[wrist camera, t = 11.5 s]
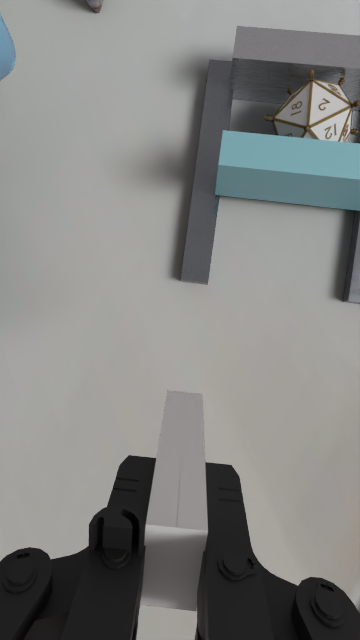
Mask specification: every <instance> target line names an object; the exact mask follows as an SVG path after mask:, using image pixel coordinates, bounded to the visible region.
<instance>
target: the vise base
mask: <svg viewBox="0 0 360 640" xmlns="http://www.w3.org/2000/svg"><path fill="white" fill-rule="evenodd" d="M311 69H312V70H313V71H314V72H315V74H314V75H315V77H314V80H319V81H324V82H329V83H334V84H338V81H339V80H340V78H342V77H344V76H345V82H343V84H342V85H341V88H342V89H343V91H344V92H345V94H346V95H347V97H348V98H349V100H350V101H351V103H354V101H357V99H358V100H360V36H356V35H343V34H331V33H318V32H306V31H293V30H281V29H268V28H255V27H243V26H237V30H236V38H235V45H234V53H233V61H232V62H230V61H218V60H210V61H209V68H208V76H207V83H206V91H205V98H204V106H203V114H202V121H201V129H200V136H199V144H198V151H197V159H196V167H195V174H194V182H193V189H192V197H191V205H190V212H189V220H188V227H187V235H186V242H185V250H184V258H183V265H182V273H181V281H183V282H191V283H199V284H207V285H208V279H209V271H210V263H211V256H212V248H213V241H214V233H215V226H216V218H217V211H218V203H219V196H220V195H215V190H216V181H217V172H218V164H219V156H220V149H221V141H222V134H223V130H226V131H228V128H229V121H230V113H231V106H232V99H239V100H250V101H260V102H271V103H282V104H284V103H285V101H286V100H287V99H288V98H289V96H290V94H288V93H287V91H288V87H289V88H292V89H293V92H294V91H296V90H297V89H299V88H300V87H301V86H303V85H304V84H305V83H307V82H308V81H309V80H310V79H309V75H308V74H309V73H310V71H311ZM353 110H358V111H360V105H359V106H357V107H353ZM343 302H349V303H357V304H360V211H357V210H355V216H354V223H353V231H352V238H351V245H350V252H349V260H348V267H347V274H346V281H345V288H344V296H343Z"/></svg>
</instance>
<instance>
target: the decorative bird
mask: <svg viewBox="0 0 360 640" xmlns="http://www.w3.org/2000/svg"><path fill="white" fill-rule="evenodd" d="M86 2H87V3H88V4H89V6H90V7H91V8H92V9H93V10H94V11H95V12H96V13H99V11H100V9H101V6H102V3H103V0H86Z"/></svg>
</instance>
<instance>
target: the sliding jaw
mask: <svg viewBox="0 0 360 640" xmlns="http://www.w3.org/2000/svg"><path fill="white" fill-rule="evenodd" d="M215 195H221V196H230V197H239V198H248V199H257V200H266V201H275V202H284V203H293V204H303V205H312V206H321V207H330V208H339V209H348V210H357V211H360V144H359V143H348V142H338V141H328V140H318V139H308V138H298V137H287V136H277V135H267V134H257V133H247V132H237V131H226V130H223V134H222V141H221V149H220V156H219V164H218V172H217V181H216V190H215Z"/></svg>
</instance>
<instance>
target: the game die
mask: <svg viewBox="0 0 360 640" xmlns="http://www.w3.org/2000/svg"><path fill="white" fill-rule="evenodd" d="M314 74H315V72H314V71H313V70H312V69H311V71H310V73H309V74H308V75H309V79H310V80H309V81H308V82H307V83H305V84H304V85H303V86H301V87H300V88H299V89H297V90H296V91H294V92H293V89H292V88H289V87H288V91H287V93H288V94H290V96H289V98H288V99H287V100H286V101H285V103H284V104H283V105H282V106H281V108H280V109H279V110H278V111H277V113H276V114H275V115H274V116H273V117H272V116H271V115H267V116H265V117H264V118H265V119H266V121H272V122H273V125H274V128H275V132H276V135H277V136H287V137H298V138H308V139H318V140H328V141H338V142H344V141H345V139H346V138H347V136H348V135H349V133H351V134H353V135H355V134H356V133H358V131H357V129H351V124H352V112H353V107H357V106H359V105H360V100H358V99H357V101H354V103H351V101H350V100H349V98H348V97H347V95H346V94H345V92H344V91H343V89H342V88H341V85H342V84H343V82H345V76H344V77H342V78H340V80H339V81H338V84H334V83H329V82H324V81H319V80H314V77H315V75H314Z"/></svg>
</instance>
